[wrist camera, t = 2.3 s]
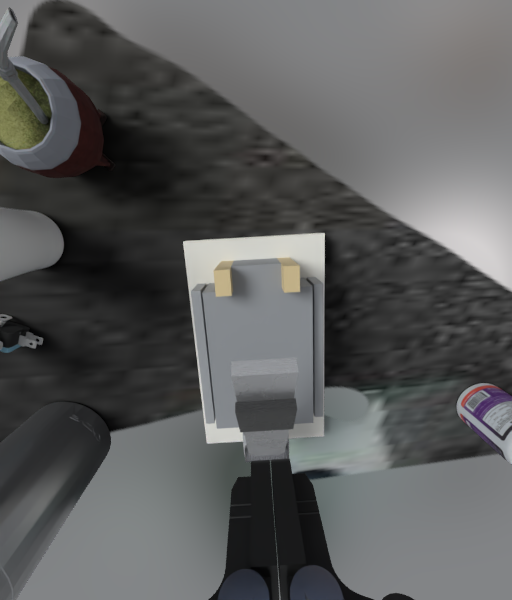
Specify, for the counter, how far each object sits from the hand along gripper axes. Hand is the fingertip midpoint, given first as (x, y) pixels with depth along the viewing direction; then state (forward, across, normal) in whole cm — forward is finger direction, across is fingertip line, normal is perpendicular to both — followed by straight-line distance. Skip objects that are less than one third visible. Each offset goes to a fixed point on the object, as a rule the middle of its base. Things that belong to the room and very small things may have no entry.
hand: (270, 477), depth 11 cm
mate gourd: (+20, +14, -17) cm, 30 cm away
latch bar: (+9, 0, +4) cm, 10 cm away
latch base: (+19, 0, +3) cm, 19 cm away
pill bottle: (+20, -25, +12) cm, 34 cm away
